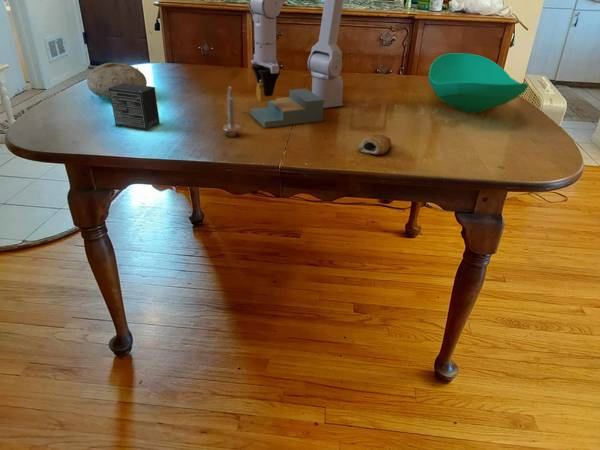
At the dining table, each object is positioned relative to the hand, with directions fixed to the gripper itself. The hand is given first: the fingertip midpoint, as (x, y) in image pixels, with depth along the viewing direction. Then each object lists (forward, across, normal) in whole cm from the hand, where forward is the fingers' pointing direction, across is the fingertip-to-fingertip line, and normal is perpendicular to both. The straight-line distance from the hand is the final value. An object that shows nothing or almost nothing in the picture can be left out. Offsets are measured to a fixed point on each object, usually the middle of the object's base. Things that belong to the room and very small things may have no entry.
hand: (266, 93), depth 128 cm
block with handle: (+2, 0, 0) cm, 2 cm away
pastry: (+8, +30, +18) cm, 36 cm away
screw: (+8, +8, -13) cm, 17 cm away
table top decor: (+8, +12, +65) cm, 67 cm away
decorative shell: (+8, -36, -37) cm, 52 cm away
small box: (+8, -8, -35) cm, 37 cm away
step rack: (+8, 0, +6) cm, 10 cm away
